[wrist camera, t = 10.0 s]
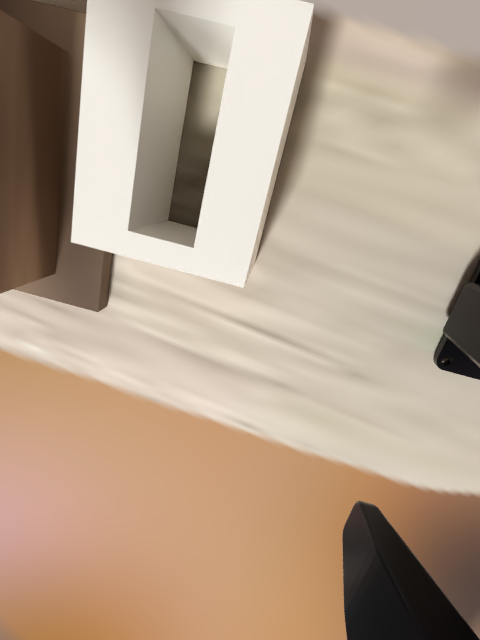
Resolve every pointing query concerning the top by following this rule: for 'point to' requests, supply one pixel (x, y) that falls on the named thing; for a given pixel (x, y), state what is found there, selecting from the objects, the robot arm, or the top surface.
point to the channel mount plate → (43, 157)
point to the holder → (167, 124)
